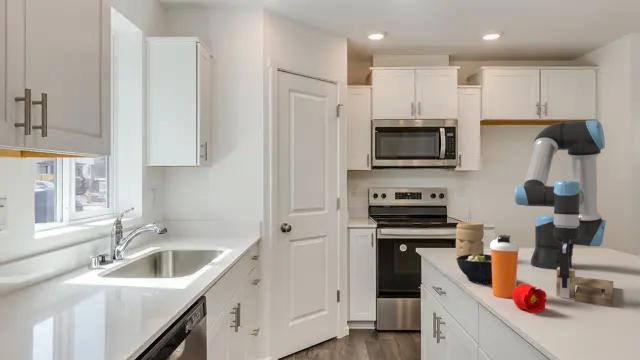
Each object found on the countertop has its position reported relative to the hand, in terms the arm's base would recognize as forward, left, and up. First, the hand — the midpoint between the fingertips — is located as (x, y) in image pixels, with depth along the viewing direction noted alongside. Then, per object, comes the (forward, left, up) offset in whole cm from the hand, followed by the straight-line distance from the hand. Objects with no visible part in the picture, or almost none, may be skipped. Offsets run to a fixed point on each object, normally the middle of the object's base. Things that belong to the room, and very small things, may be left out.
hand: (565, 294), depth 142 cm
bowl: (-29, +4, 0) cm, 29 cm away
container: (-44, +43, 0) cm, 62 cm away
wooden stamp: (+5, 0, 0) cm, 5 cm away
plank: (+8, +8, 0) cm, 11 cm away
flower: (-8, -24, -1) cm, 25 cm away
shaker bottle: (-17, -12, 0) cm, 21 cm away
